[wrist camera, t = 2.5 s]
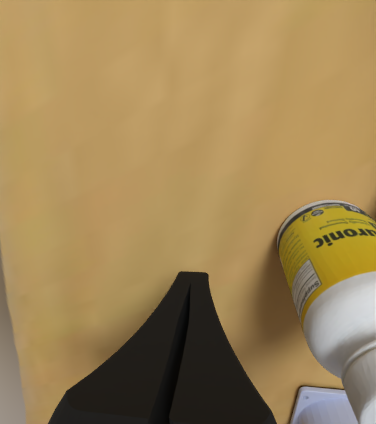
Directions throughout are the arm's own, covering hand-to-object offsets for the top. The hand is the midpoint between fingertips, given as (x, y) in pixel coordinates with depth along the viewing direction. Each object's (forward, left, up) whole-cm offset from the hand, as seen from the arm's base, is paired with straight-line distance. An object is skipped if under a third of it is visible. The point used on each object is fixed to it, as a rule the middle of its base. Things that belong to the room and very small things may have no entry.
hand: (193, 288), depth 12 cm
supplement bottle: (0, -7, -5) cm, 9 cm away
